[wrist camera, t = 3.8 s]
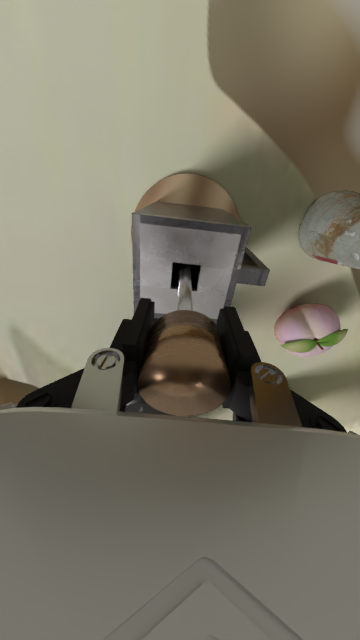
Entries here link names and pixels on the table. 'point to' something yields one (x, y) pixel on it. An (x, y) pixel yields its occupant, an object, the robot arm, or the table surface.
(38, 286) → the table surface
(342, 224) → the bottle
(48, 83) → the table surface
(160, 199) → the coaster
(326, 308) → the decorative fruit
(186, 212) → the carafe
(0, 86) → the table surface
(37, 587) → the robot arm
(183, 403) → the plunger
